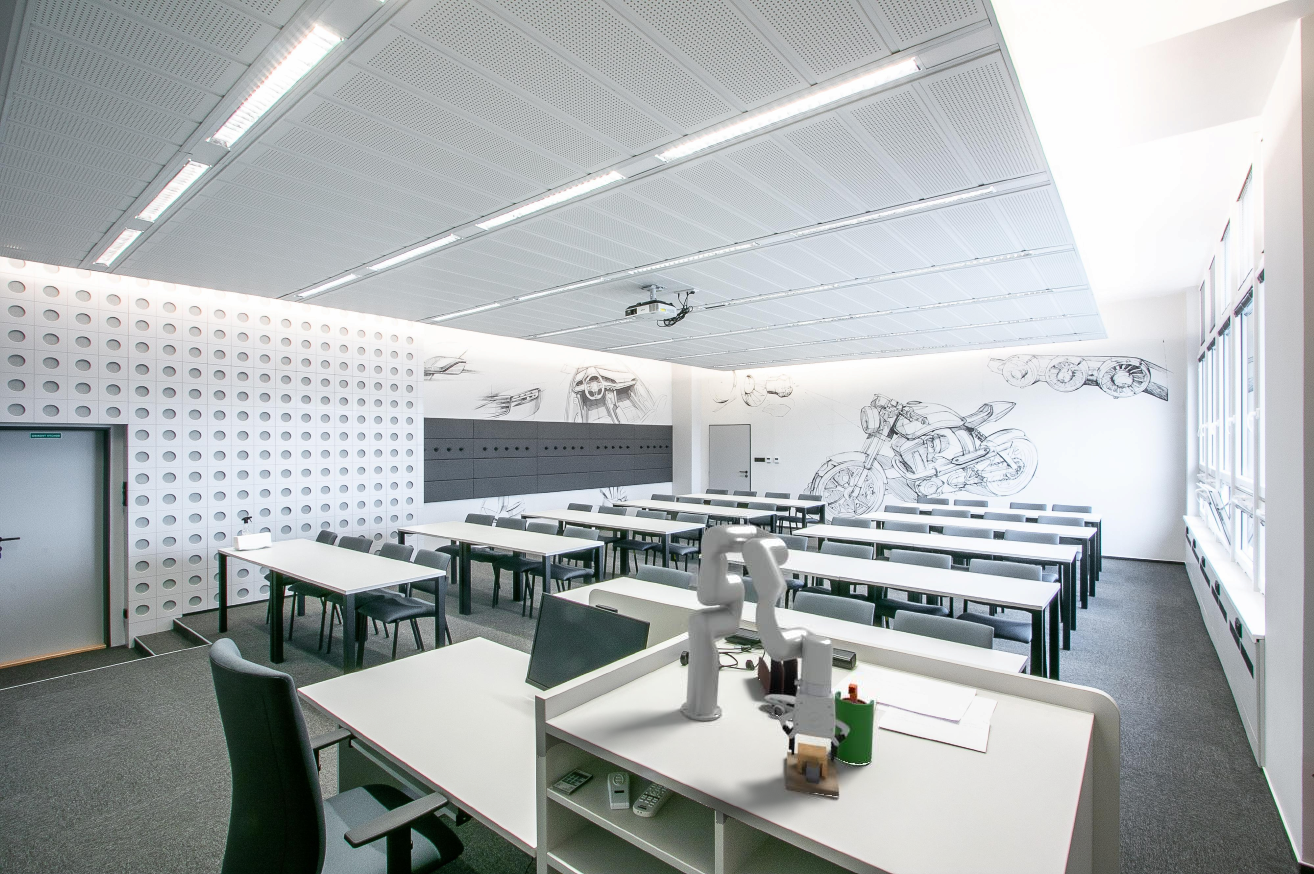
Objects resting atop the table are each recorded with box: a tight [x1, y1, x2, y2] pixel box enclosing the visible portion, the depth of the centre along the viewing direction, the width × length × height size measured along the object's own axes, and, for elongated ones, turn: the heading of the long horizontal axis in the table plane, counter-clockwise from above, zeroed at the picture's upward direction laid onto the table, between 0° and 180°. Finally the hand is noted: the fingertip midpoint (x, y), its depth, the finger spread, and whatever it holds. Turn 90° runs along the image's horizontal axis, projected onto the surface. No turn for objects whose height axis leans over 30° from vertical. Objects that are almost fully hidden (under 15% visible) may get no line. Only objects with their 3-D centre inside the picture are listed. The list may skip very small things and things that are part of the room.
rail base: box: [786, 751, 840, 797], centre depth 149 cm, size 16×12×2 cm
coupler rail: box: [805, 761, 820, 784], centre depth 150 cm, size 12×3×4 cm, turn 167°
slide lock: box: [796, 742, 828, 777], centre depth 150 cm, size 6×7×4 cm
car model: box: [764, 694, 796, 716], centre depth 185 cm, size 11×24×5 cm, turn 53°
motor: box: [834, 683, 875, 764], centre depth 161 cm, size 10×9×20 cm
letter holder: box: [757, 656, 799, 697], centre depth 208 cm, size 10×20×14 cm, turn 1°
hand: (812, 755), depth 150 cm, fingers open, 9 cm apart
